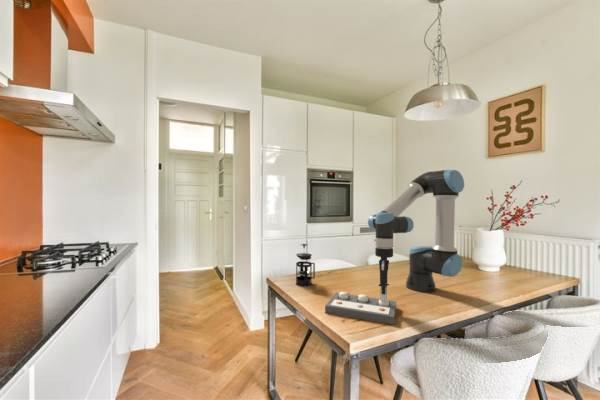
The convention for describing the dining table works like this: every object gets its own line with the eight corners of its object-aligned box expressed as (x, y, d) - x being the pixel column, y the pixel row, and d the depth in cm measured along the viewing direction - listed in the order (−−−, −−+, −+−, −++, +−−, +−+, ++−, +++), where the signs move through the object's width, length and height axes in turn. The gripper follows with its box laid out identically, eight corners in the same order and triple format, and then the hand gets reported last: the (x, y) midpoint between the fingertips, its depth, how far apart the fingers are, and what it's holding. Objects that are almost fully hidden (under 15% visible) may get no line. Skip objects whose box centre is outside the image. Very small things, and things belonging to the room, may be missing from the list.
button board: (396, 307, 122) (396, 300, 122) (393, 324, 106) (393, 315, 106) (336, 298, 133) (336, 291, 133) (325, 312, 117) (325, 304, 117)
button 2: (389, 307, 121) (389, 300, 121) (388, 310, 117) (388, 303, 117) (379, 305, 123) (379, 298, 123) (377, 309, 119) (378, 301, 119)
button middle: (368, 302, 124) (368, 295, 124) (367, 305, 120) (367, 298, 120) (359, 300, 126) (359, 293, 126) (357, 303, 122) (357, 296, 122)
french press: (296, 287, 151) (297, 245, 151) (292, 282, 160) (293, 243, 160) (316, 285, 154) (317, 245, 154) (311, 280, 163) (312, 242, 163)
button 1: (349, 299, 128) (349, 292, 128) (347, 302, 124) (347, 295, 124) (340, 297, 130) (340, 291, 130) (337, 300, 125) (337, 294, 125)
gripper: (377, 244, 127) (376, 294, 127) (373, 249, 115) (372, 304, 115) (394, 245, 124) (393, 297, 124) (392, 250, 112) (391, 307, 112)
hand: (383, 300), depth 120 cm, fingers closed
